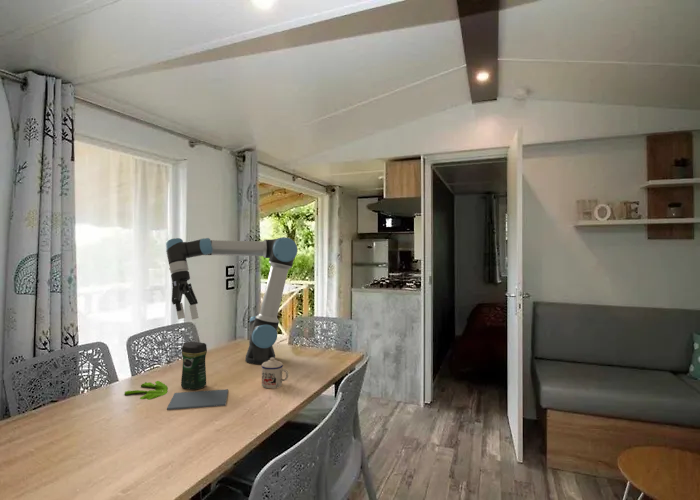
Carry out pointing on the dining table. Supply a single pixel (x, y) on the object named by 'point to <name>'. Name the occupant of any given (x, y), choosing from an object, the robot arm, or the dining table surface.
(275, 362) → the teacup with lid
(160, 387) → the cloth
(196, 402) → the mat
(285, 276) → the robot arm
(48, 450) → the dining table surface
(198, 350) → the coffee jar
